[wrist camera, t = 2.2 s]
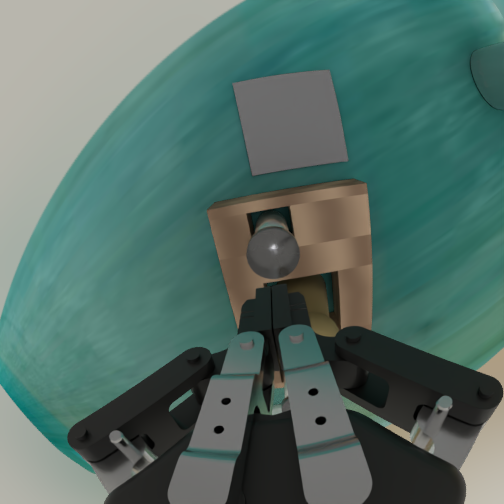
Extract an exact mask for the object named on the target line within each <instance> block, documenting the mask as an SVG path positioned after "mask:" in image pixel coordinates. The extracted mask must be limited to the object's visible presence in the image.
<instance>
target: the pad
mask: <svg viewBox="0 0 504 504" xmlns="http://www.w3.org/2000/svg"><path fill="white" fill-rule="evenodd" d="M233 88H234V92H235V97H236V101H237V106H238V111H239V115H240V120H241V125H242V129H243V134H244V139H245V143H246V148H247V153H248V158H249V162H250V167H251V172H252V176H255V175H260V174H265V173H271V172H277V171H282V170H288V169H295V168H301V167H307V166H314V165H321V164H329V163H336V162H344V161H348V156H347V150H346V144H345V138H344V133H343V127H342V122H341V117H340V113H339V108H338V103H337V99H336V94H335V90H334V86H333V82H332V78H331V74H330V70H319V71H307V72H298V73H289V74H282V75H275V76H269V77H263V78H257V79H251V80H246V81H241V82H237V83H233Z"/></svg>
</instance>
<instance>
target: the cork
mask: <svg viewBox="0 0 504 504" xmlns="http://www.w3.org/2000/svg"><path fill="white" fill-rule="evenodd" d="M280 284H287V290H288V293H293V292H300V293H301V294H302V295H303V296H304V298H305V302H306V306H307V310H308V314H309V319H310V323H311V327H312V329H313V331H314V332H315V333H317V334H319V335H322V336H328V337H335V335H336V334H337V332H338V331H339V329H338V327H337V325H336V323H335V322H334V321H333V320H332V319H331V318H330V317H329V309H328V300H327V292H326V284H325V281H324V279H323V277H322V276H321V275H320V274H316V275H311V276H305V277H299V278H293V279H287V280H281V281H278V283H277V285H280Z"/></svg>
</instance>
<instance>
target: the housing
mask: <svg viewBox="0 0 504 504" xmlns="http://www.w3.org/2000/svg"><path fill="white" fill-rule="evenodd" d="M285 206H288V209H289V215H290V221H291V227H292V233H293V236H294V237H295V238H296V240H297V243H298V246H299V250H300V258H299V262H298V264H297V266H296V268H295V269H294V270H293V271H292V272H291V273H290V274H289V275H287V276H285V277H283V278H279V279H267V278H263V277H261V276H259V275H257V274H256V273H255V272H254V271H253V270H252V269H251V268H250V266H249V264H248V261H247V257H246V252H247V246H248V243H249V240H250V239H251V237H252V236H253V235H254V234H255V232H254V227H253V222H252V218H251V213H252V212H257V211H263V210H268V209H274V208H280V207H285ZM207 214H208V218H209V222H210V226H211V230H212V234H213V238H214V242H215V246H216V249H217V253H218V257H219V261H220V265H221V269H222V272H223V276H224V280H225V284H226V287H227V291H228V295H229V298H230V302H231V306H232V309H233V313H234V316H235V320H236V323H237V327H238V328H239V321H240V315H241V308H242V305H243V304H244V303H245V301H246V300H248V299H255V295H256V288H262V287H267V283H269V282H275V281H281V280H287V279H293V278H299V277H305V276H311V275H316V274H322V273H328V272H331V274H332V286H333V300H334V312H330V313H329V317H330V318H331V319H332V320H333V321H334V322H335V323H336V325H337V327H338V329H339V331H340V330H341V329H343V328H345V327H349V326H360V327H364V328H366V329H369V330H371V324H372V245H371V227H370V214H369V202H368V192H367V183H364V182H362V181H359V180H356V179H348V180H340V181H333V182H326V183H320V184H313V185H307V186H300V187H294V188H288V189H282V190H277V191H271V192H265V193H260V194H255V195H249V196H244V197H239V198H234V199H229V200H224V201H219V202H215V203H214V204H213V205H212V206H211V207H210V208H209V209H208V210H207ZM279 361H280V360H279ZM274 384H275V388H282V387H284V371H283V370H281V365H280V371H274Z"/></svg>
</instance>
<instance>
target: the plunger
mask: <svg viewBox="0 0 504 504" xmlns="http://www.w3.org/2000/svg"><path fill="white" fill-rule="evenodd" d="M246 257H247V261H248V264H249V266H250V268H251V269H252V270H253V271H254V272H255V273H256V274H257V275H259V276H261V277H263V278H267V279H279V278H283V277H285V276H287V275H289V274H290V273H291V272H292V271H293V270H294V269H295V268H296V266H297V264H298V262H299V258H300V250H299V246H298V243H297V240H296V238H295V237H294V236H293V234H292V233H291V232H289V230H288V226H287V222H286V219H285V217H284V216H283V215H282V214H281V213H279V212H277V211H273V210H270V211H266V212H264V213H262V214H261V215H260V216H259V218H258V219H257V223H256V230H255V234H254V235H253V236H252V237H251V239H250V240H249V243H248V246H247V252H246Z"/></svg>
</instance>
